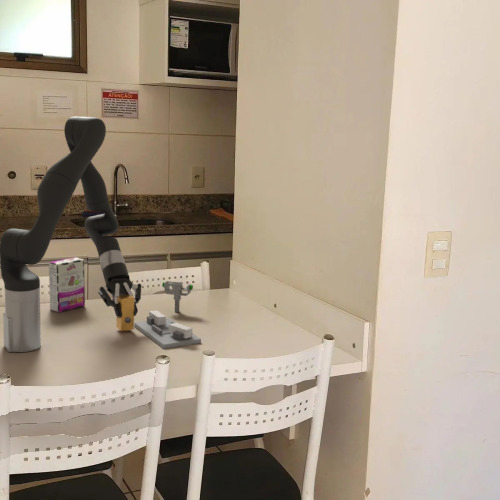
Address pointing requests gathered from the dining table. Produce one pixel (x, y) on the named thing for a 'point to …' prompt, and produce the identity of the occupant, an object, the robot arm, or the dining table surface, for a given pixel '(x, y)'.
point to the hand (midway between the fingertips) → (127, 315)
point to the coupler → (126, 313)
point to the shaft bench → (166, 331)
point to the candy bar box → (66, 284)
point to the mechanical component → (176, 291)
